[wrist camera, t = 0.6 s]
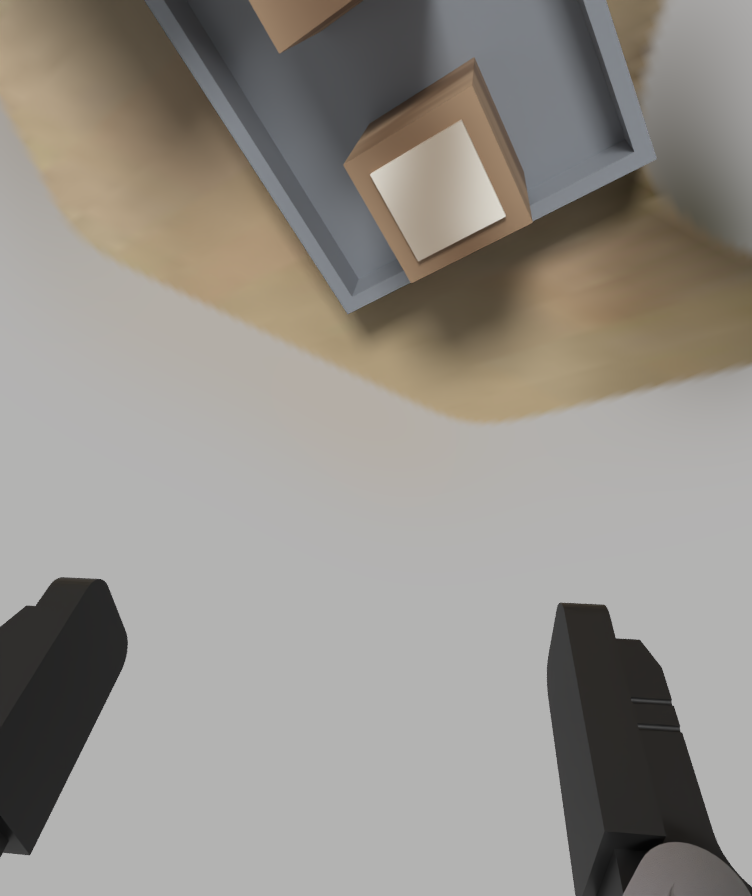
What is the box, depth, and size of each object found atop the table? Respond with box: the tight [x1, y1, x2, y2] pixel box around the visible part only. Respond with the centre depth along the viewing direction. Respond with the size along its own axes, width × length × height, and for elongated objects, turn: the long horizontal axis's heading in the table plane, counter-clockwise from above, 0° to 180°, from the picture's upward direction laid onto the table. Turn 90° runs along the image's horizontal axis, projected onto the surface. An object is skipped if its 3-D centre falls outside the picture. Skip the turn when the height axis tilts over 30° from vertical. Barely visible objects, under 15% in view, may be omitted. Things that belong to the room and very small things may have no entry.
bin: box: [144, 0, 657, 314], centre depth 23 cm, size 13×15×2 cm
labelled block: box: [343, 57, 533, 283], centre depth 23 cm, size 4×4×6 cm
